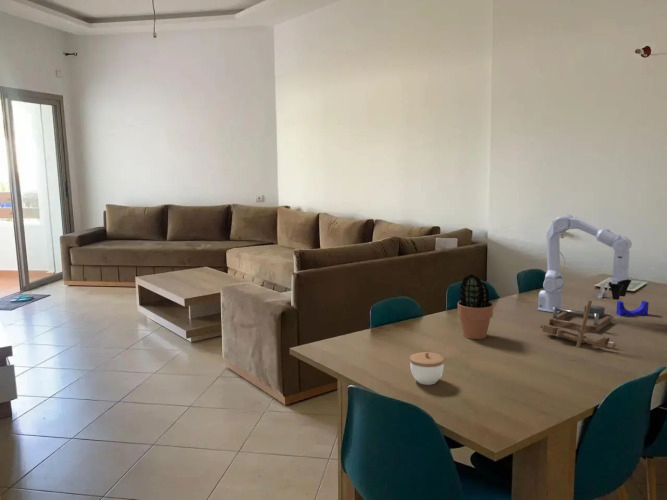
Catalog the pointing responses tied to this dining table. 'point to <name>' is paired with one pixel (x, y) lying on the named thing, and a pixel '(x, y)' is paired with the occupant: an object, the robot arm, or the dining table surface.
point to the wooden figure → (575, 336)
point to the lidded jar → (426, 367)
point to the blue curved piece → (639, 311)
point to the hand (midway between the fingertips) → (619, 297)
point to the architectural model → (602, 292)
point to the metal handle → (596, 316)
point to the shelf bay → (576, 326)
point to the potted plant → (474, 308)
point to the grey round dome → (596, 310)
